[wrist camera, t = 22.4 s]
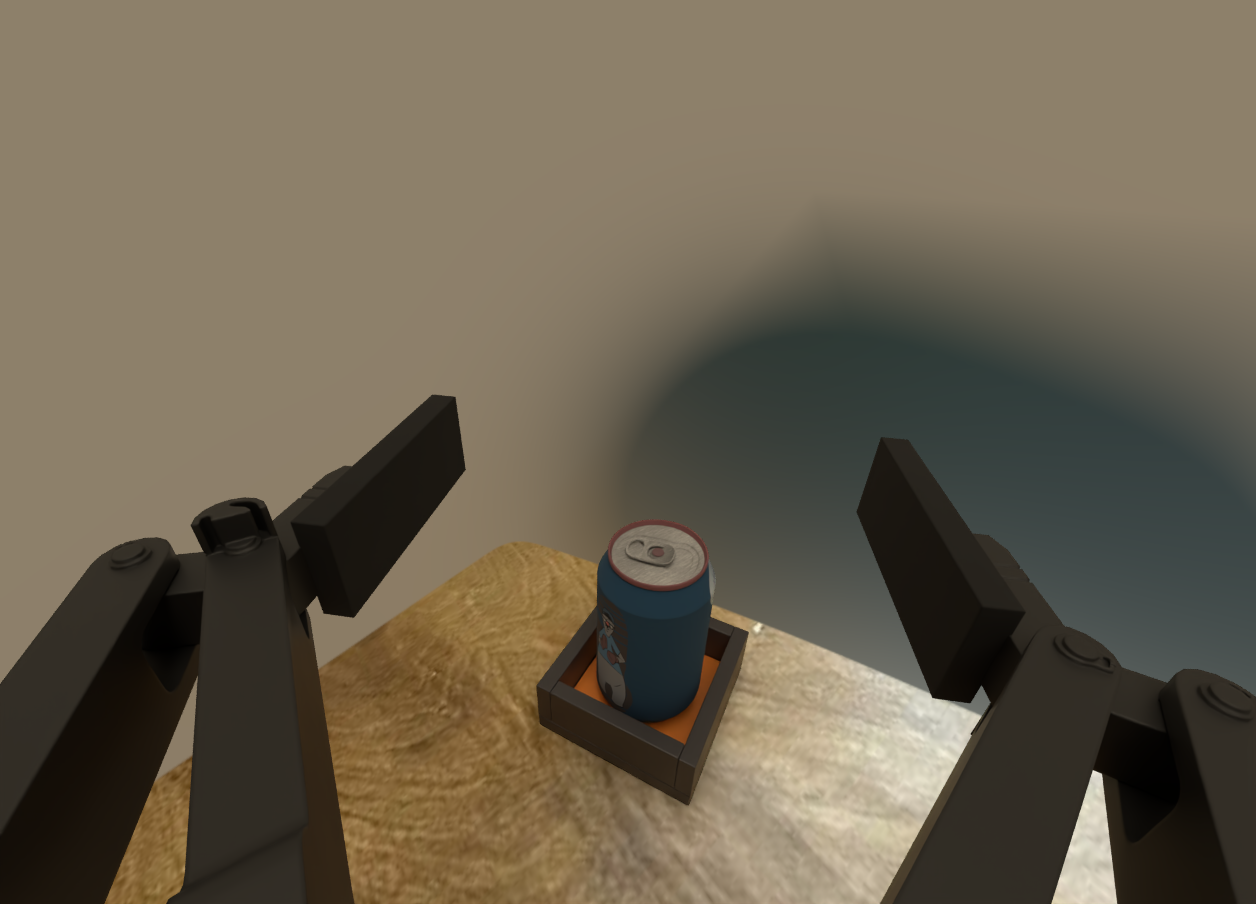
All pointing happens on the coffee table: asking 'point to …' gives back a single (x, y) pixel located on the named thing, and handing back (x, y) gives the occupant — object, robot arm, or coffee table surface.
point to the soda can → (653, 618)
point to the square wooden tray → (641, 749)
